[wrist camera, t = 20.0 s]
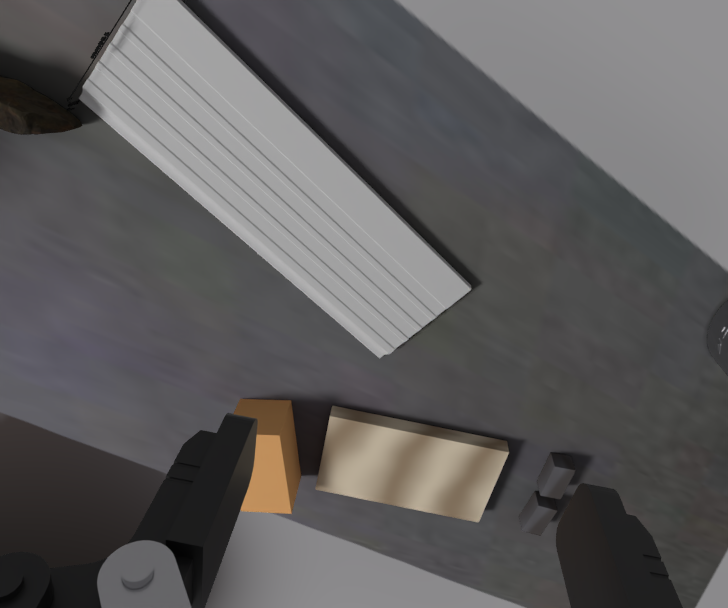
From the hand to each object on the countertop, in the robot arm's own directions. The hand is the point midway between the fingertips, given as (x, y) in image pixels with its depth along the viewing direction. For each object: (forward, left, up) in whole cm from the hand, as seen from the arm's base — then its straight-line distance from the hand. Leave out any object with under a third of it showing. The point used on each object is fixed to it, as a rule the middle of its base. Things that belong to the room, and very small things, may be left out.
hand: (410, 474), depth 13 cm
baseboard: (+10, +5, -31) cm, 33 cm away
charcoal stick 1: (-19, +26, -29) cm, 43 cm away
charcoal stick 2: (-19, +32, -29) cm, 47 cm away
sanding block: (+8, +30, -30) cm, 43 cm away
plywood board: (-6, +29, -30) cm, 42 cm away
